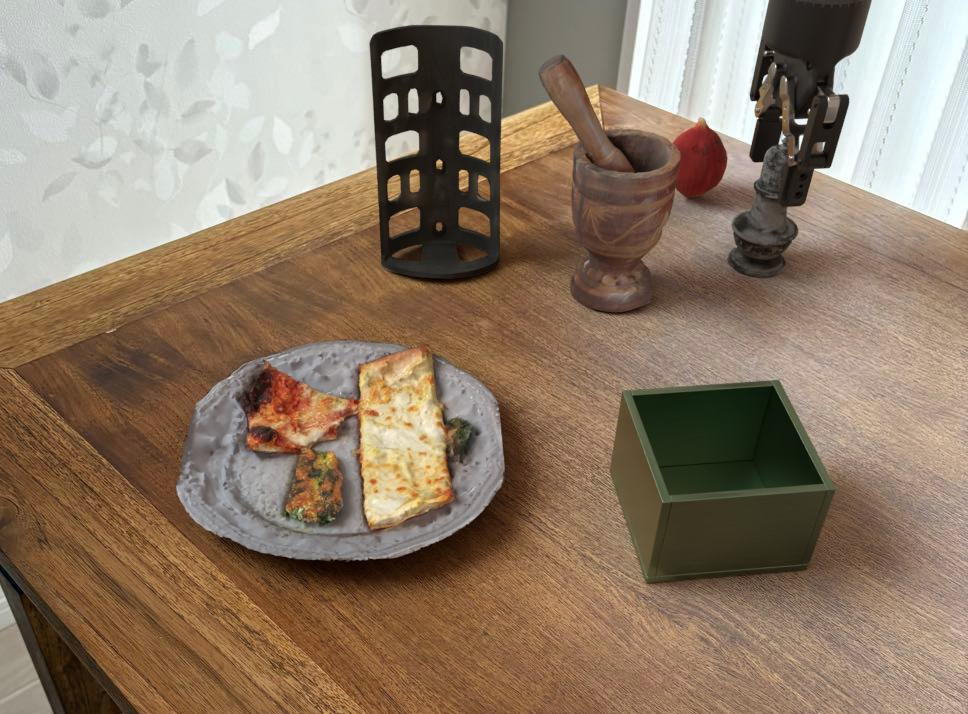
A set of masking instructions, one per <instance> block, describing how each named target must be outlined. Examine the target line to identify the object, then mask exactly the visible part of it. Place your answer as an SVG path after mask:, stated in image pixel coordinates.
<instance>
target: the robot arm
mask: <svg viewBox="0 0 968 714" xmlns="http://www.w3.org/2000/svg"><path fill="white" fill-rule="evenodd" d="M872 2H873V0H768V3H767V7H766V10H765V11H766V12H765V16H764V21H763V25H762V30H761V36H760V41H759V47H758V52H757V56H756V61H755V66H754V71H753V75H752V79H751V84H750V85H751V86H750V90H749V100H750V102H756V103H755V105H754V111H753V112H754V117H755V118H756V122H755V126H754V129H753V130H754V131H753V135H752V140H751V145H750V149H749V154H748V157H749V158H750V160H751V161H752V162H753V163H763V162H764V157H765V154H766V152H767V150H768V149H770V148H771V147H773V146H775V145H780V141H781V136H784V138H785V137H787V139H788V159H787V160H788V162H786V166H785V170H784V174H783V178H782V182H781V186H780V190H779V194H778V202H779V203H780V205H781V206H782V207H787V208H792V207H793V208H794V207H802V206H803V205H804V204H806V201H807V198H808V194H809V190H810V186H811V182H812V179H813V175H814V171H815V170H823V169H824V170H825V169H831V167H832V165H833V162H834V158H835V154H836V151H837V148H838V144H839V141H840V137H841V134H842V131H843V127H844V123H845V121H846V116H847V114H848V110H849V106H850V95H849V94H847V93H844V94H843V93H842V94H841V93H840V94H836V93H835V92H834V85H835V84H834V83H835V72H836V66H837V65H838V63H839V62H841V61H842V60H843V59H846V58H847V57H850V56H851V55H853V54H854V53H855V52H856V51H857V50H858V49H859V47H860V44H861V41H862V38H863V35H864V31H865V26H866V23H867V20H868V15H869V12H870V9H871V6H872ZM765 76H766V77H765ZM764 78H765V79H764ZM796 120H806V123H805V124H800V123H799V124H798V123H797V122H796ZM801 136H802V140H801V143H800V137H801Z"/></svg>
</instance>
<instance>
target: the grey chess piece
mask: <svg viewBox="0 0 968 714" xmlns="http://www.w3.org/2000/svg"><path fill="white" fill-rule="evenodd" d="M787 159H788V139H787V137H785V136H784V138H783V139H781V143H779V145H775V146H773V147H771V148H770V149H768V150H767V152H766V154H765V157H764V162H762V167H761V170H760V174H759V178H758V179H757V180H755V182H753V185H752V187H753V191H755V193H754V197H753V201H752V204H751V207H750V208H749V210H745V211H742V212H739V213H738V214H736V215H735V216H734V217H733V218H732V220H731V224H730V225H731V228H732V231H733V232H732V235H733V240H734V244H735V246H736V247H734V248H732V249H731V250H730V251H729V252H728V254H727V258H726V259H727V263H728V265H729V266H730V267H731V268H732V269H734V271H735V272H738V273H740V274H742V275H745V276H748V277H754V278H771V277H776V276H778V275H780V274H782V273H783V272H784V271H785V270H786V268H787V261H786V258H785V257H784V256H783V254H784V253H785V252H786V251H787V250H788V248H789V247H790V246H791V244H793V241H794V240H796V238H797V237H798V235H799V231H800V230H799V226H798V225H797V223H796V222H795V221H794V220H793V219H792V218H791V217H789V216H787V215H788V207H782V206H781V205H780V203H779V202H778V194H779V190H780V186H781V182H782V178H783V174H784V170H785V166H786V162H788V160H787Z"/></svg>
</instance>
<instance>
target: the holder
mask: <svg viewBox="0 0 968 714" xmlns="http://www.w3.org/2000/svg"><path fill="white" fill-rule="evenodd" d="M410 46H413V47H415V48H416V50H417V70H415V71H413V72H408V73H403V74H398V75H394V76H390V77H385V78H384V77H383V65H382V56H383V54H384V53H385V52H386V51H387V52H388V51H391V50H396V49H399V48H405V47H410ZM462 48H471V49H476V50H478V51H482V52H483V53H484V52H485V53H486V54H487V55H489V57H490V58H491V80H490V79H487V78H485V77H482V76H479V75H476V74H471V73H467V72H464V71H463V70H462V67H461V54H462V53H461V52H462V51H461V49H462ZM369 55H370V56H369V57H370V75H371V91H372V92H371V94H372V110H373V112H372V113H373V129H374V132H373V133H374V146H375V147H374V148H375V161H376V162H375V165H376V166H375V167H376V180H377V182H376V184H377V200H378V201H377V203H378V220H379V221H378V223H379V242H380V244H379V245H380V265H381V266H382V267H383V268H384V269H385V270H386V271H389V272H391V273H394V274H401V275H404V276H409V277H413V278H423V279H442V280H453V279H463V278H470V277H476V276H480V275H482V274H485V273H488V272H490V271H492V270H494V269H495V268H497V267H498V266H499V264H500V262H501V261H500V260H501V259H500V258H501V148H502V115H503V114H502V108H503V77H504V75H503V72H504V71H503V70H504V42H503V40H502V39H501V38H500V36H499V35H498V34H496V33H494V32H491V31H489V30H485V29H483V28H479V27H476V26H469V25H452V24H451V25H449V24H448V25H447V24H409V25H408V24H407V25H401V26H397V27H392V28H387V29H384V30H380V31H376V32H375V33H374V34H372V36H371V38H370V40H369ZM411 90H416V94H417V99H418V100H417V101H418V102H417V103H418V111H417V112H410V111H409V95H410V92H411ZM462 90H466V91H467V92H468V96H469V97H468V99H469V101H468V102H469V103H468V104H469V105H468V114H464V113H462V112H461V91H462ZM439 93H440V96H441V101H440V102H438V100H437V94H439ZM392 94H395V95H397V107H398V108H397V115H396V117H394V118H392V119H385V106H384V105H385V104H384V102H385V101H384V100H385V99H386V98H387V96H390V95H392ZM481 96H484V97H486V98H488V100H489V102H490V122H489V121H487V120H484V119H483V118H482V116H481V115H480V103H481V102H480V99H481ZM410 131H412V132H416V133H417V135H418V151H417V152H416V153H413V154H409V155H405V156H402V157H398V158H395V159H391V160H389V161H387V152H386V142H387V141H388V139H389V138H391V137H393V136H397V135H399V134H403V133H406V132H410ZM463 131H465V132H468V133H472V134H475V135H478V136H480V137H482V138H485V139H486V140H487V141H488V143H489V161H486V160H485V159H482V158H479V157H475V156H472V155H468V154H466V153H462V151H461V149H460V140H461V139H460V138H461V137H460V136H461V135H460V134H461V132H463ZM439 160H440V162H441V168H437V167H438V166H437V162H438V161H439ZM415 170H416V171H418V175H419V176H418V177H419V178H418V179H419V189H418V190H417V191H411V180H410V179H411V172H412V171H415ZM461 171H466V172H467V174H468V177H467V179H468V181H467V182H468V183H467V187H468V188H467V190H466V191H463V190H461V189H460V172H461ZM395 176H399V181H400V182H399V183H400V185H399V187H400V194H399V195H398V196H397V197H395V198H393V199H391V200H390V199H389V190H388V184H389V180H390V179H392V178H393V177H395ZM480 176H481V177H483V178H485V179H486V180H487V183H488V185H489V200H488V199H486V198H484V197H482V196H481V195H480V193H479V177H480ZM416 208H417V209H418V210H419V226H417V227H416V228H413V229H410V230H409V229H408V230H405V231H403V232H401V233H398V234H395V235H392V236H390V220H391V218H392V217H393V216H395V215H396V214H399V213H401V212H404V211H407V210H410V209H416ZM461 208H466V209H469V210H473V211H475V212H478V213H480V214H483V215H484V216H486V217H487V219H488V220H489V235H486V234H484V233H481V232H479V231H477V230H474V229H469V228H465V227H462V226H461V225H460V223H459V222H460V220H459V219H460V209H461ZM438 223H441V229H440V230H439V229H437V224H438ZM457 245H464V246H467V247H471V248H475V249H478V250H481V251H482V252H484V253H485V254H487V255H486V256H483V257H480V258H476V259H473V260H466V261H465V260H461V259H460V258H459V254H458V249H457ZM415 246H421V247H422V255H421V256H422V257H421V260H418V261H410V260H406V259H403V258H399V257H397V256H393V255H395V254H397V253H398V252H400V251H402V250H404V249H408V248H412V247H415Z"/></svg>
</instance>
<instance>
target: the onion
mask: <svg viewBox="0 0 968 714" xmlns="http://www.w3.org/2000/svg"><path fill="white" fill-rule="evenodd" d="M672 143H674V144H675V145H676V146H677V149H678V151H680V153H681V160H680V164H679V171H678V176H677V183H676V186H675V190H676V191H677V192H678V193H680V194H681V195H682V196H683V197H684V198H686V199H693V198H696V197H700V196H702V195H705V194H706V193H708V192H709V191H711V190H713V189H714V188H716V187H717V186H718V185H719V184H720V183H721V182H722V180H723V178H724V175H725V172H726V170H727V166H728V152H727V150H726V147H725V145H724V143H723V141H722V139H721V137H720V136H719V134H718V133H717V132H716V131H715V130H713V129H712V128H710V126H709V125H708V123H707V121H706V119H705V118H704V117H698V119H697V122H696V123H695V126H693V127H691V128H688V129H686V130H685V131H684V132H682V133H680V134H679V135H678V136H677V137H676V138H675V139H674V140H673V141H672Z"/></svg>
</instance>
